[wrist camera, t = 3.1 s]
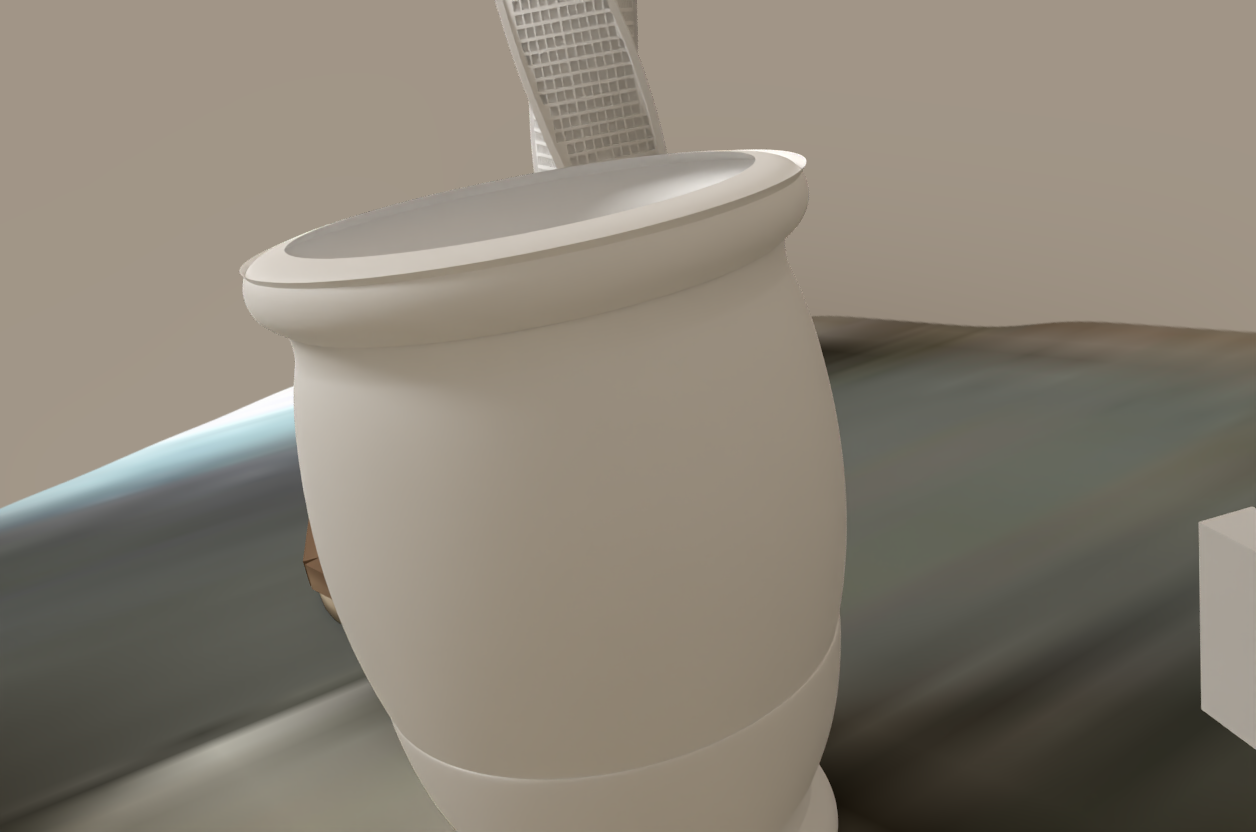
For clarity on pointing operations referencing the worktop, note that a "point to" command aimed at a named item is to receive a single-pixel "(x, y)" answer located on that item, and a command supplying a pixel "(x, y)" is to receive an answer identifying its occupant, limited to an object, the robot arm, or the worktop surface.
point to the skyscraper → (582, 80)
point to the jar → (579, 489)
